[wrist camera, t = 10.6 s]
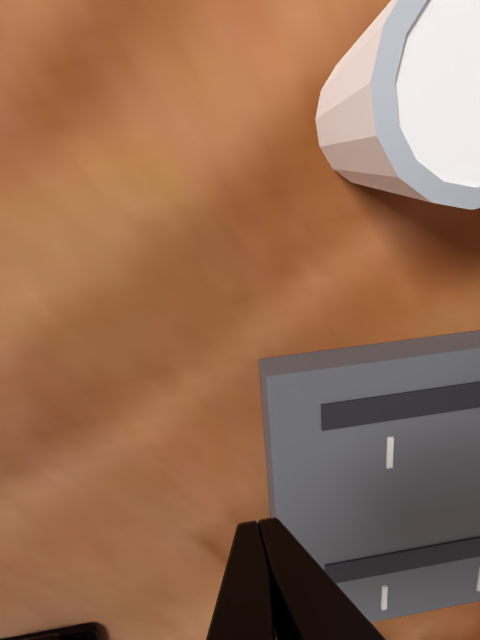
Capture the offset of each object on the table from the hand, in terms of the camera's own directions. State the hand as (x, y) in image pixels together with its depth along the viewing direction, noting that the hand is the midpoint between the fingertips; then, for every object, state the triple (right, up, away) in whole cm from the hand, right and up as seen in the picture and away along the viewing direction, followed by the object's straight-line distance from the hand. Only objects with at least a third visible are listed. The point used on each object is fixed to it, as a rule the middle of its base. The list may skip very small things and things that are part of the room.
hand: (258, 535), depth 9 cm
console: (+13, -4, +16) cm, 21 cm away
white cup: (+6, +13, +9) cm, 17 cm away
